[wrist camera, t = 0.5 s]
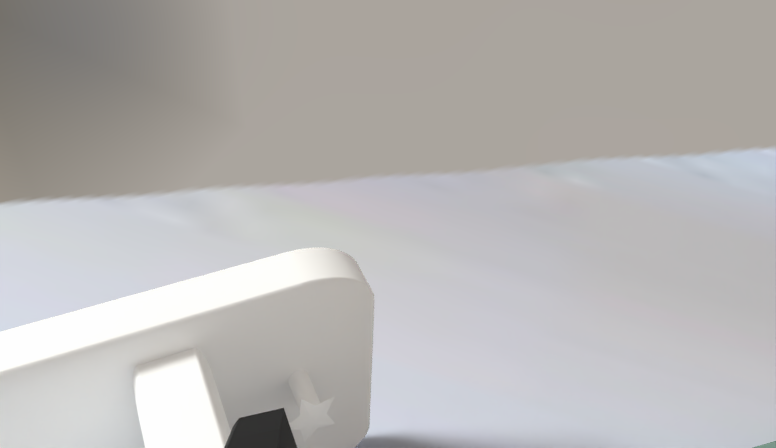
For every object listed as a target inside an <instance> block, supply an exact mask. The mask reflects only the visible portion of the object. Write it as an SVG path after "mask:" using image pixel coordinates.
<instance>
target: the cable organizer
mask: <svg viewBox="0 0 776 448" xmlns="http://www.w3.org/2000/svg"><path fill="white" fill-rule="evenodd" d="M373 323H374V294H373V292H372V290H371V288H370V286H369V284H368V282H367V280H366V279H365V277H364V275H363V273H362V271H361V270H360V268H359V266H358V264H357V262H356V261H355V260H354V259H353V258H352V257H351V256H349V255H348V254H346V253H344V252H342V251H339V250H335V249H331V248H305V249H299V250H294V251H289V252H285V253H282V254H278V255H275V256H271V257H267V258H264V259H260V260H257V261H253V262H249V263H246V264H242V265H239V266H235V267H231V268H228V269H224V270H221V271H217V272H214V273H210V274H206V275H203V276H199V277H196V278H192V279H188V280H185V281H181V282H178V283H174V284H170V285H167V286H163V287H160V288H156V289H152V290H149V291H145V292H142V293H138V294H134V295H131V296H127V297H124V298H120V299H117V300H113V301H109V302H106V303H102V304H99V305H95V306H91V307H88V308H84V309H81V310H77V311H73V312H70V313H66V314H63V315H59V316H55V317H52V318H48V319H45V320H41V321H37V322H34V323H30V324H27V325H23V326H20V327H16V328H12V329H9V330H5V331H2V332H0V448H224V447H225V445H226V442H227V440H228V437H229V435H230V432H231V430H232V428H233V426H234V424H235V423H236V421H237V420H238V419H239V418H241V417H245V416H250V415H254V414H258V413H263V412H267V411H272V410H276V409H280V408H284V410H285V413H286V416H287V419H288V422H289V425H290V428H291V431H292V434H293V437H294V439H295V442H296V445H297V448H354V447H356V446H357V445H358V444H359V443H360V442H361V441H362V439H363V438H364V437H365V435H366V434H367V432H368V429H369V423H370V398H371V373H372V348H373Z"/></svg>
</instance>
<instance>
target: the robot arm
mask: <svg viewBox="0 0 776 448" xmlns="http://www.w3.org/2000/svg"><path fill="white" fill-rule="evenodd" d="M224 448H297V445H296V442H295V439H294V437H293V434H292V431H291V428H290V425H289V422H288V419H287V416H286V413H285V410H284V408H280V409H276V410H272V411H267V412H263V413H258V414H254V415H250V416H245V417H241V418H239V419H238V420H237V421H236V423H235V424H234V426H233V428H232V430H231V432H230V435H229V437H228V440H227V442H226V445H225V447H224Z"/></svg>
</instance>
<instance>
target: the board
mask: <svg viewBox="0 0 776 448" xmlns="http://www.w3.org/2000/svg"><path fill="white" fill-rule="evenodd" d="M754 448H776V441H774V442H770V443H767V444H764V445H760V446H757V447H754Z"/></svg>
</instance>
